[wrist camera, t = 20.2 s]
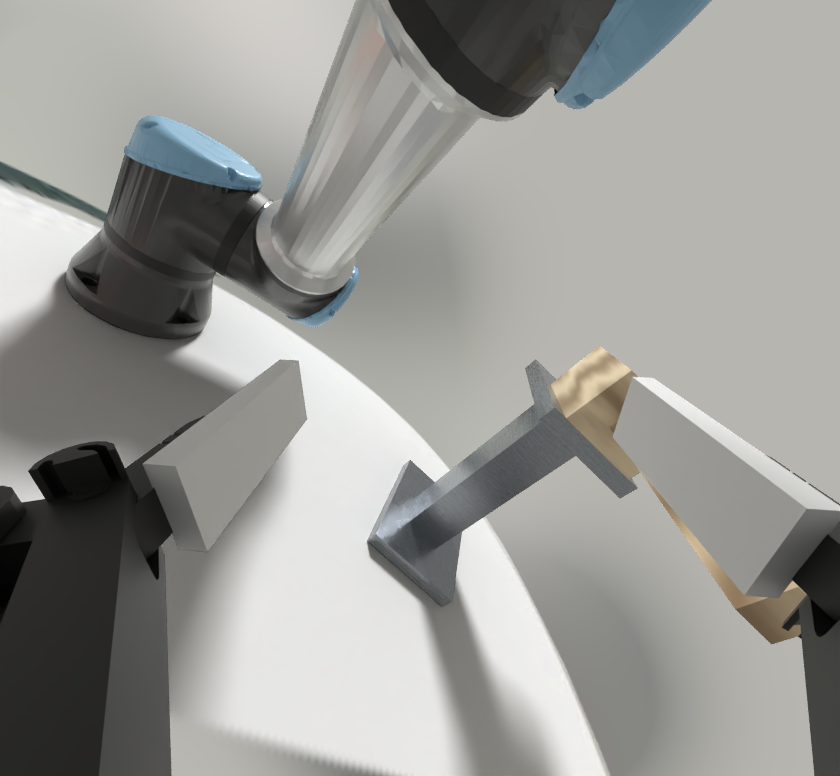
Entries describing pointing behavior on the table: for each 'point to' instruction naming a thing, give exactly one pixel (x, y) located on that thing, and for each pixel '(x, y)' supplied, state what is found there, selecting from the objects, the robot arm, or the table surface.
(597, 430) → the mallet
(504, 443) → the stand
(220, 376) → the table surface
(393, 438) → the table surface
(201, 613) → the table surface
